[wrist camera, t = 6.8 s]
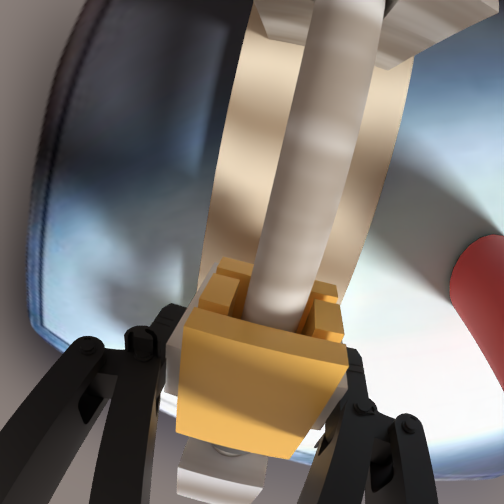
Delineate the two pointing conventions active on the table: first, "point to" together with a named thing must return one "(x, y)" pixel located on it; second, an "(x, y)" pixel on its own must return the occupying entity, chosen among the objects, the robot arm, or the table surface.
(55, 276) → the table surface
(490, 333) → the beer can
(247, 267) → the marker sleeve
